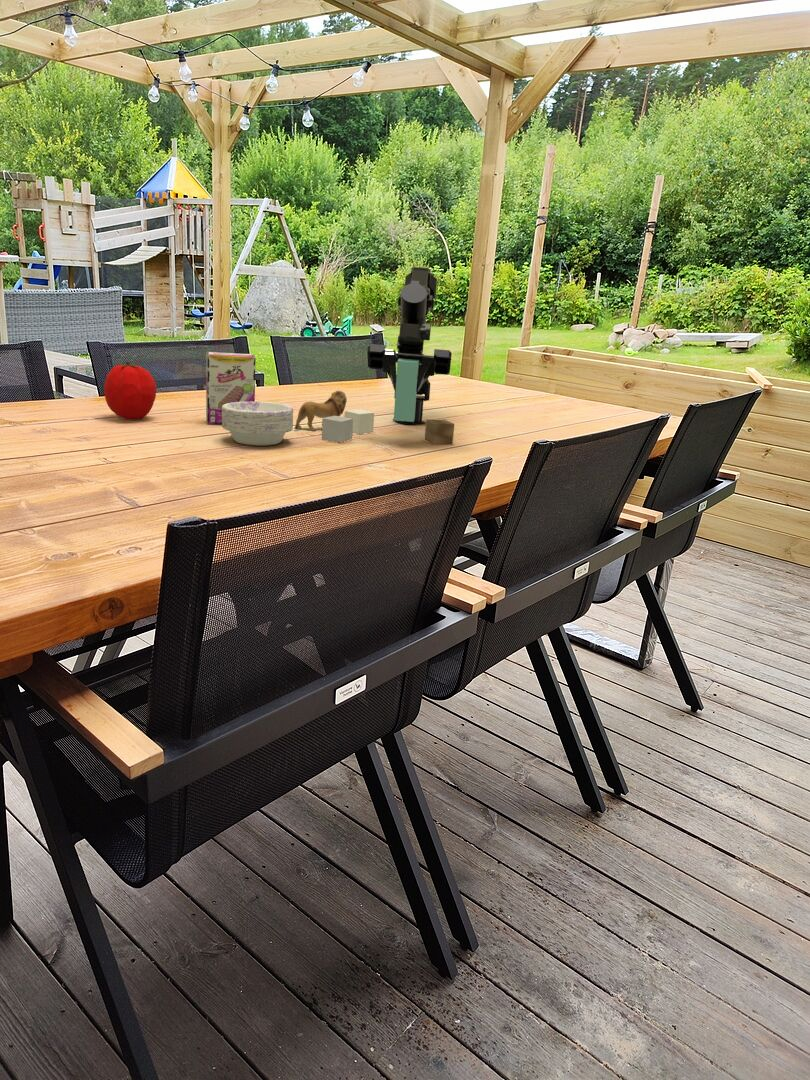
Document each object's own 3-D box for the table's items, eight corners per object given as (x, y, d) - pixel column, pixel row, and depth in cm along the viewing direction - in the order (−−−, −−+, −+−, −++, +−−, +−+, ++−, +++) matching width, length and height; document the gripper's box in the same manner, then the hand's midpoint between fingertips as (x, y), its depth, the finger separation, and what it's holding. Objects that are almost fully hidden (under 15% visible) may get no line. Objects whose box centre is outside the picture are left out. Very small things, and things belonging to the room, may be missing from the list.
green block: (394, 416, 175) (398, 358, 170) (414, 418, 175) (419, 360, 170) (393, 420, 171) (397, 360, 166) (413, 421, 170) (418, 362, 166)
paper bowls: (250, 431, 178) (250, 397, 175) (305, 441, 172) (306, 406, 169) (207, 441, 165) (206, 404, 162) (265, 453, 159) (265, 415, 156)
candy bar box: (207, 425, 181) (206, 354, 175) (206, 421, 185) (205, 351, 180) (255, 425, 184) (256, 355, 179) (252, 421, 189) (253, 353, 183)
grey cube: (333, 436, 179) (334, 415, 177) (351, 440, 177) (352, 418, 175) (321, 440, 175) (322, 418, 173) (340, 443, 173) (341, 421, 171)
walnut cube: (443, 440, 185) (445, 419, 183) (452, 444, 180) (454, 423, 179) (424, 440, 183) (426, 419, 181) (432, 445, 178) (434, 423, 177)
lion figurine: (337, 424, 193) (339, 388, 190) (350, 428, 189) (352, 392, 186) (288, 429, 183) (289, 391, 180) (300, 433, 180) (302, 394, 177)
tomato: (102, 423, 174) (98, 364, 170) (108, 413, 185) (105, 357, 181) (156, 424, 177) (153, 366, 173) (158, 414, 188) (157, 359, 184)
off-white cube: (358, 429, 190) (359, 409, 188) (373, 433, 186) (374, 412, 185) (343, 431, 186) (344, 410, 184) (358, 435, 183) (359, 414, 181)
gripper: (370, 306, 169) (362, 363, 162) (455, 312, 168) (450, 370, 162) (371, 339, 179) (364, 394, 172) (451, 346, 178) (447, 401, 172)
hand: (406, 389), depth 169 cm, fingers closed on green block, 4 cm apart
